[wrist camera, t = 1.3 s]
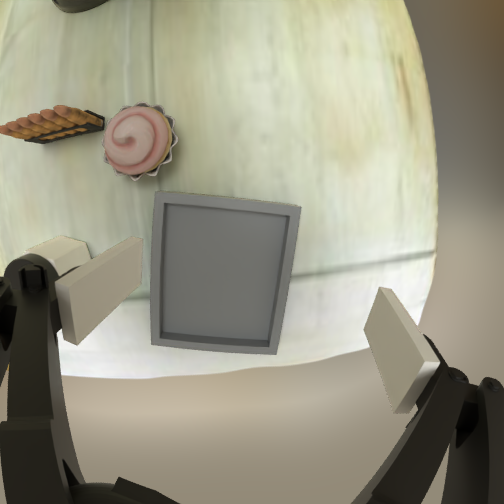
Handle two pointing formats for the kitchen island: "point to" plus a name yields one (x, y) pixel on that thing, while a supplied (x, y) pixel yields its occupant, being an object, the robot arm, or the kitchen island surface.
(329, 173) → the kitchen island surface
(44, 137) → the ammunition clip
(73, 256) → the jar
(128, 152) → the cupcake
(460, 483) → the robot arm
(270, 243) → the tray
